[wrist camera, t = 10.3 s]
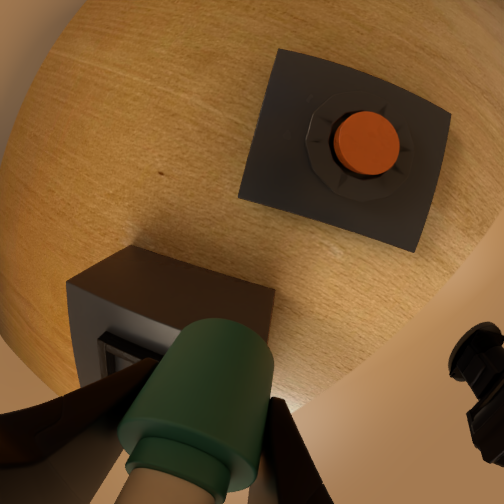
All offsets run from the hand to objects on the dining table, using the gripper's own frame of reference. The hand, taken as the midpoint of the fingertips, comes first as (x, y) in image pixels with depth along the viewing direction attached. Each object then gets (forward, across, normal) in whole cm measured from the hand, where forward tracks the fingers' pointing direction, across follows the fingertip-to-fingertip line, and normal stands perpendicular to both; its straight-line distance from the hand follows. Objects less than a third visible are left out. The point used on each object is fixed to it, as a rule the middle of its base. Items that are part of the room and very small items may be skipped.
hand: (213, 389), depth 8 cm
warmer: (+13, +4, +7) cm, 15 cm away
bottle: (+2, 0, 0) cm, 2 cm away
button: (+9, -4, -9) cm, 14 cm away
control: (+13, -4, -9) cm, 16 cm away
